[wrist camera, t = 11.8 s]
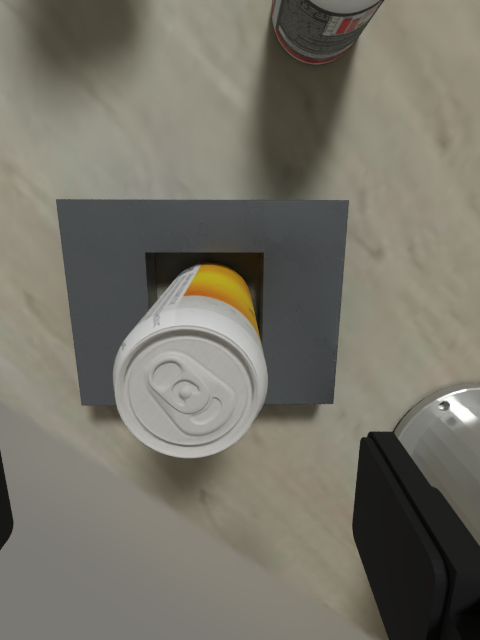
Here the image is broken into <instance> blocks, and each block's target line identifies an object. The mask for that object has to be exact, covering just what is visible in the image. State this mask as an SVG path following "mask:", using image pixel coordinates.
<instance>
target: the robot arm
mask: <svg viewBox="0 0 480 640" xmlns="http://www.w3.org/2000/svg"><path fill="white" fill-rule="evenodd" d="M352 528H353V536H354V540H355V543H356V546H357V549H358V552H359V555H360V557H361V560H362V563H363V566H364V569H365V572H366V575H367V578H368V580H369V583H370V586H371V589H372V592H373V595H374V598H375V601H376V603H377V606H378V609H379V612H380V615H381V618H382V621H383V624H384V627H385V629H386V632H387V635H388V638H389V640H480V383H467V384H461V385H456V386H451V387H449V388H446V389H443V390H440V391H438V392H436V393H434V394H432V395H430V396H428V397H427V398H425V399H423V400H422V401H421V402H420V403H418V404H417V405H416V406H414V407H413V408H412V409H411V410H410V411H409V412H408V413H407V414H406V416H405V417H404V418H403V419H402V420H401V422H400V423H399V425H398V427H397V428H396V430H395V432H394V433H393V432H369V433H368V436H367V437H362V438H361V441H360V450H359V460H358V471H357V481H356V492H355V502H354V512H353V523H352ZM12 529H13V517H12V511H11V506H10V500H9V496H8V490H7V485H6V480H5V474H4V469H3V463H2V457H1V452H0V550H1V548H2V547H3V546H4V544H5V543H6V541H7V540H8V539H9V537H10V535H11V533H12Z"/></svg>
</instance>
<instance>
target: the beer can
mask: <svg viewBox="0 0 480 640" xmlns="http://www.w3.org/2000/svg"><path fill="white" fill-rule="evenodd" d="M113 386H114V392H115V400H116V405H117V409H118V412H119V414H120V417H121V419H122V421H123V422H124V424H125V426H126V427H127V428H128V430H129V431H130V432H131V433H132V434H133V435H134V437H136V438H137V439H138V440H139V441H140V442H141V443H143V444H144V445H146V446H147V447H149V448H151V449H153V450H155V451H157V452H159V453H162V454H165V455H168V456H172V457H177V458H201V457H206V456H210V455H214V454H217V453H219V452H221V451H223V450H225V449H227V448H229V447H230V446H232V445H233V444H235V443H236V442H237V441H238V440H239V439H241V438H242V437H243V435H244V434H245V433H246V432H247V431H248V429H249V428H250V426H251V425H252V423H253V422H254V420H255V419H256V417H257V416H258V415H259V413H260V411H261V409H262V407H263V404H264V402H265V398H266V394H267V388H268V374H267V367H266V362H265V358H264V353H263V349H262V344H261V339H260V335H259V330H258V326H257V321H256V317H255V312H254V307H253V303H252V298H251V294H250V291H249V288H248V286H247V284H246V282H245V281H244V279H243V278H242V277H241V276H240V275H239V274H238V273H237V272H236V271H234V270H233V269H231V268H230V267H228V266H225V265H223V264H219V263H214V262H204V263H199V264H195V265H192V266H190V267H188V268H187V269H185V270H184V271H182V272H181V273H180V274H179V275H178V276H177V277H176V278H175V280H174V281H173V282H172V283H171V284H170V286H169V287H168V288H167V289H166V290H165V292H164V293H163V294H162V295H161V296H160V298H159V299H158V300H157V301H156V302H155V304H154V305H153V306H152V307H151V308H150V309H149V311H148V312H147V313H146V314H145V315H144V317H143V318H142V319H141V320H140V321H139V323H138V324H137V325H136V326H135V327H134V329H133V330H132V331H131V332H130V333H129V335H128V336H127V337H126V339H125V340H124V341H123V343H122V345H121V347H120V348H119V351H118V353H117V356H116V359H115V363H114V368H113Z"/></svg>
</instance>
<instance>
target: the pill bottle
mask: <svg viewBox="0 0 480 640" xmlns="http://www.w3.org/2000/svg"><path fill="white" fill-rule="evenodd" d="M383 1H384V0H272V21H273V26H274V30H275V33H276V35H277V38H278V40H279V42H280V43H281V45H282V46H283V48H284V49H285V50H286V51H287V52H288V53H289V54H290V55H291V56H292V57H294V58H295V59H297V60H299V61H301V62H304V63H307V64H325V63H328V62H331V61H333V60H335V59H337V58H339V57H340V56H342V55H343V54H344V53H345V52H347V51H348V50H349V49H350V47H351V46H352V45H353V44H354V43H355V41H356V40H357V39H358V37H359V36H360V34H361V33H362V31H363V30H364V28H365V27H366V26H367V24H368V23H369V21H370V20H371V18H372V17H373V15H374V14H375V13H376V11H377V10H378V8H379V7H380V5H381V4H382V3H383Z"/></svg>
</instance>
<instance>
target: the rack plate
mask: <svg viewBox="0 0 480 640" xmlns="http://www.w3.org/2000/svg"><path fill="white" fill-rule="evenodd" d="M56 203H57V211H58V219H59V227H60V235H61V243H62V251H63V260H64V268H65V276H66V284H67V292H68V300H69V308H70V316H71V324H72V332H73V340H74V348H75V356H76V364H77V372H78V380H79V388H80V396H81V404H82V405H116V400H115V392H114V386H113V368H114V363H115V359H116V356H117V353H118V351H119V348H120V347H121V345H122V343H123V341H124V340H125V339H126V337H127V336H128V335H129V333H130V332H131V331H132V330H133V329H134V327H135V326H136V325H137V324H138V323H139V321H140V320H141V319H142V318H143V317H144V315H145V314H146V313H147V312H148V311H149V309H150V308H151V307H152V306H153V305H154V304H155V302H156V301H157V286H156V269H155V252H261V266H260V324H259V335H260V339H261V344H262V349H263V353H264V358H265V362H266V367H267V374H268V388H267V394H266V398H265V402H264V404H333V399H334V387H335V374H336V361H337V348H338V335H339V322H340V309H341V296H342V283H343V270H344V258H345V245H346V232H347V219H348V206H349V200H70V199H56Z"/></svg>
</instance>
